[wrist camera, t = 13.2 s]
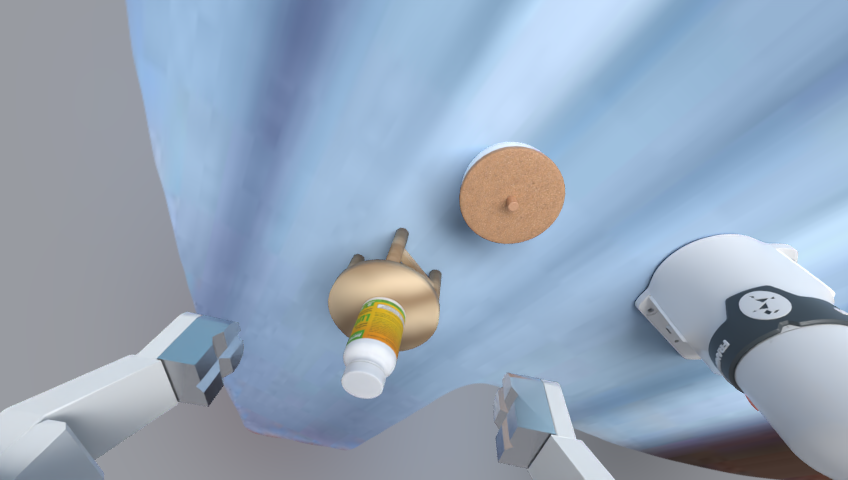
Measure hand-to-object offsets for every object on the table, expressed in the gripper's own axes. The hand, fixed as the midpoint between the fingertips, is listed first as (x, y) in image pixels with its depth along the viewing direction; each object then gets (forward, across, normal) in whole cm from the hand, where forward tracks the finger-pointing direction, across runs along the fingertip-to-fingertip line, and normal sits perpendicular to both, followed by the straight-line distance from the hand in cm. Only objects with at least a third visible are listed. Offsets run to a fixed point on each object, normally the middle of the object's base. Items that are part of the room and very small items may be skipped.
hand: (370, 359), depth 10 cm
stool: (+33, +3, +21) cm, 39 cm away
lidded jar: (+33, -9, +4) cm, 35 cm away
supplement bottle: (+23, +2, +21) cm, 31 cm away
